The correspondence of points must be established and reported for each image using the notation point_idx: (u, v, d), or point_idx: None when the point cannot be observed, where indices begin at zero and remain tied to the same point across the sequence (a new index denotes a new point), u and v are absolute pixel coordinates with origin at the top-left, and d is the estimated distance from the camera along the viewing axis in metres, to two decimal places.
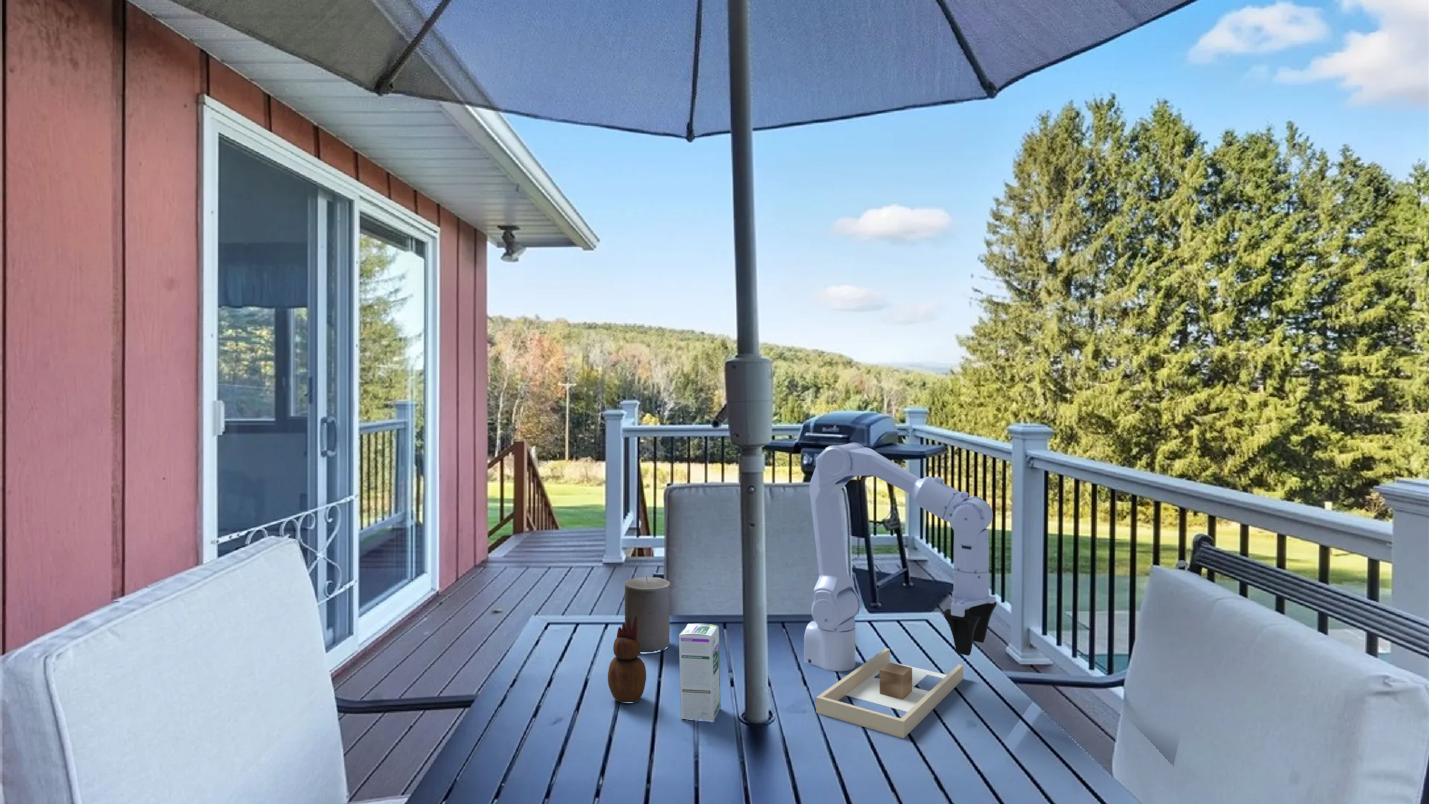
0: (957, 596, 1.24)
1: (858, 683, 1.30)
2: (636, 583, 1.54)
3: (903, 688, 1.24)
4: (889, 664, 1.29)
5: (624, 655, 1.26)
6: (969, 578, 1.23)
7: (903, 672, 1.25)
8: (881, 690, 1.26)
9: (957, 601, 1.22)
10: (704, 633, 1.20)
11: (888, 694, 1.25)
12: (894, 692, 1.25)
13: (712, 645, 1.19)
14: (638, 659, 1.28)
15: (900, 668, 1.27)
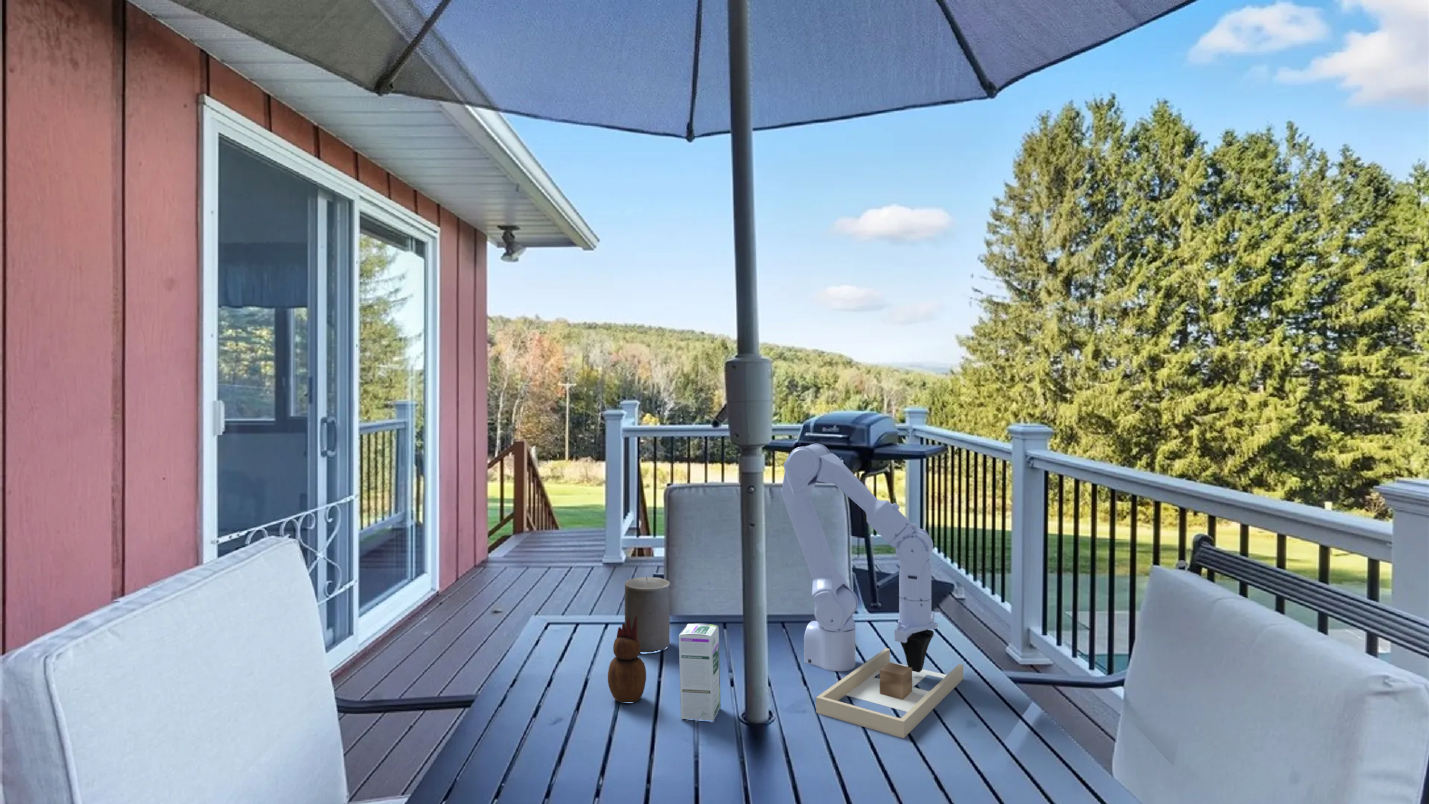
0: (902, 622, 1.33)
1: (858, 683, 1.30)
2: (636, 583, 1.54)
3: (903, 688, 1.24)
4: (889, 664, 1.29)
5: (624, 655, 1.26)
6: (912, 606, 1.31)
7: (903, 672, 1.25)
8: (881, 690, 1.26)
9: (901, 627, 1.30)
10: (704, 633, 1.20)
11: (888, 694, 1.25)
12: (894, 692, 1.25)
13: (712, 645, 1.19)
14: (638, 659, 1.28)
15: (900, 668, 1.27)
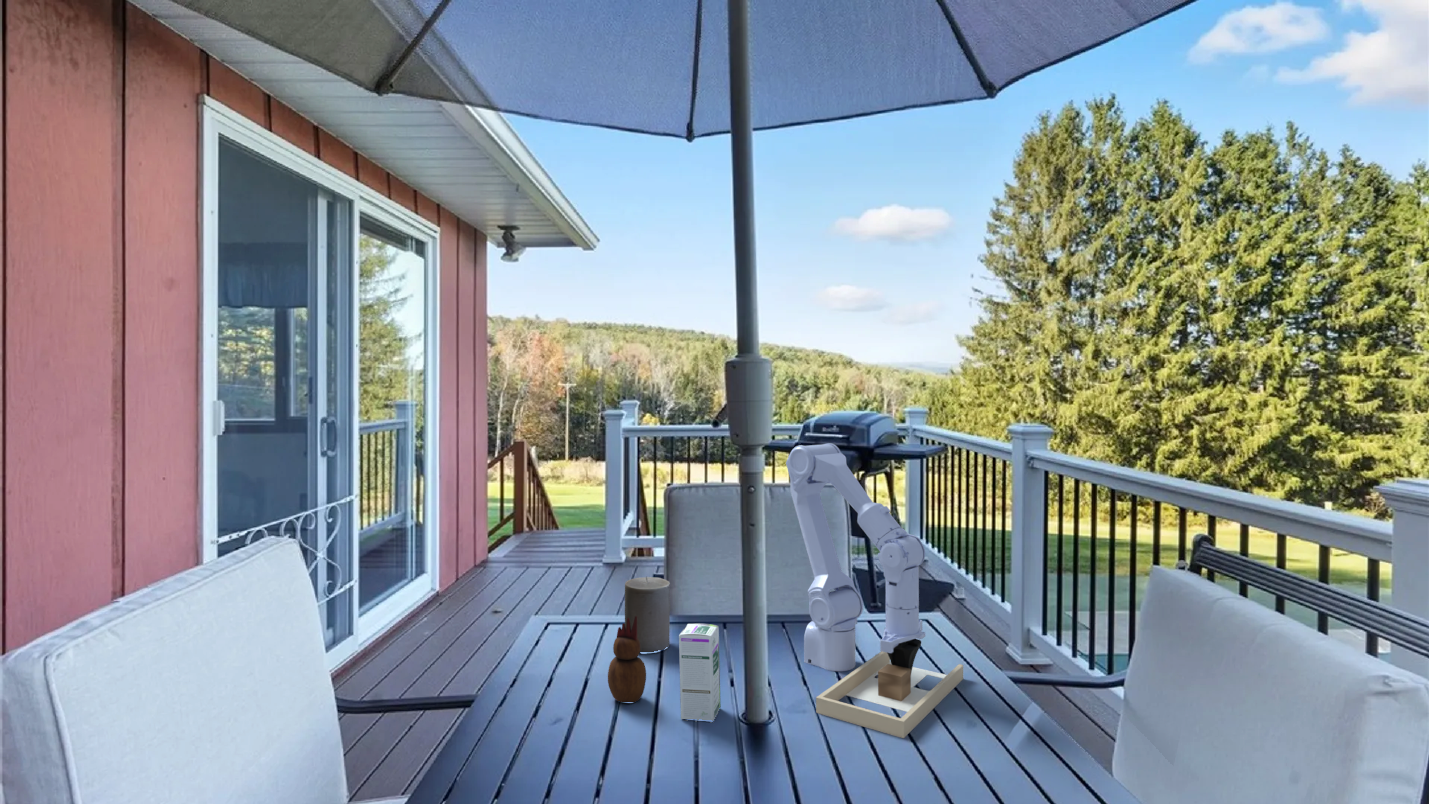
0: (888, 631, 1.28)
1: (858, 683, 1.30)
2: (636, 583, 1.54)
3: (902, 689, 1.24)
4: (887, 665, 1.28)
5: (624, 655, 1.26)
6: (899, 614, 1.26)
7: (902, 673, 1.24)
8: (880, 691, 1.25)
9: (887, 637, 1.25)
10: (704, 633, 1.20)
11: (887, 696, 1.25)
12: (893, 693, 1.24)
13: (712, 645, 1.19)
14: (638, 659, 1.28)
15: (899, 669, 1.26)
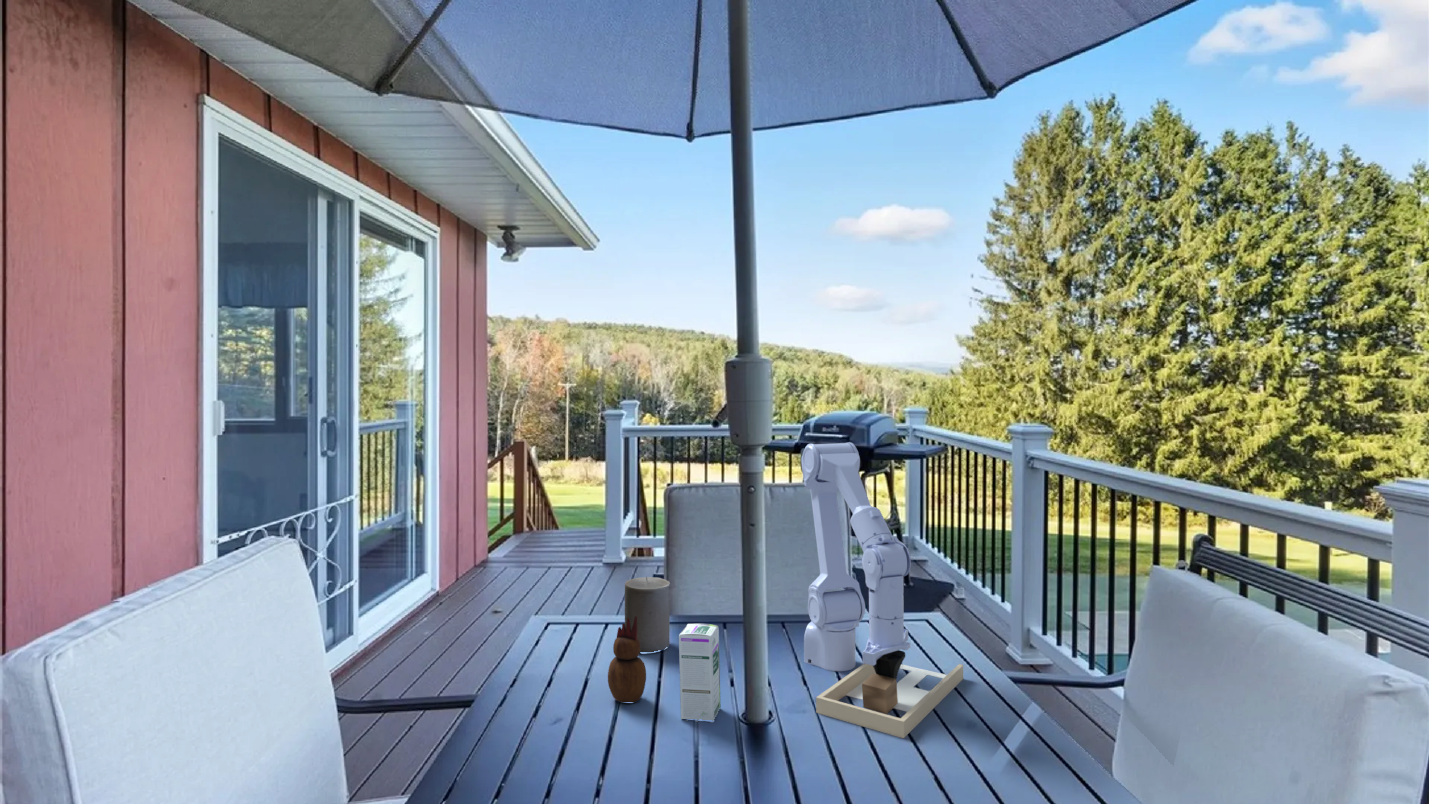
0: (871, 642, 1.22)
1: (858, 683, 1.30)
2: (636, 583, 1.54)
3: (887, 702, 1.19)
4: (873, 675, 1.23)
5: (624, 655, 1.26)
6: (882, 624, 1.21)
7: (886, 685, 1.19)
8: (864, 704, 1.21)
9: (870, 648, 1.20)
10: (704, 633, 1.20)
11: (872, 708, 1.20)
12: (878, 706, 1.19)
13: (712, 645, 1.19)
14: (638, 659, 1.28)
15: (884, 680, 1.21)
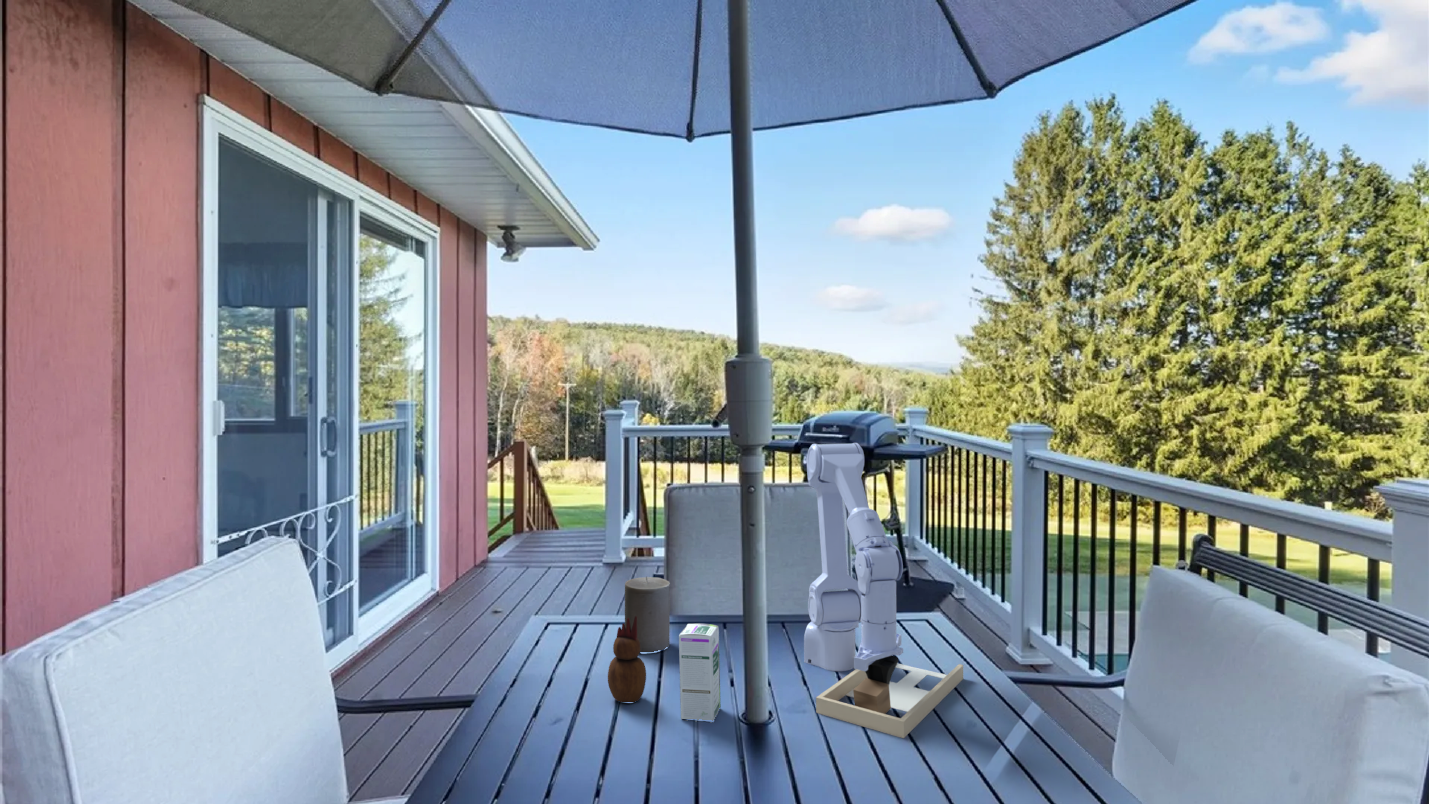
0: (864, 647, 1.20)
1: (858, 683, 1.30)
2: (636, 583, 1.54)
3: (879, 708, 1.16)
4: (865, 680, 1.21)
5: (623, 655, 1.26)
6: (875, 629, 1.18)
7: (878, 691, 1.17)
8: None
9: (862, 654, 1.18)
10: (704, 633, 1.20)
11: None
12: None
13: (712, 645, 1.19)
14: (638, 659, 1.28)
15: (876, 685, 1.19)
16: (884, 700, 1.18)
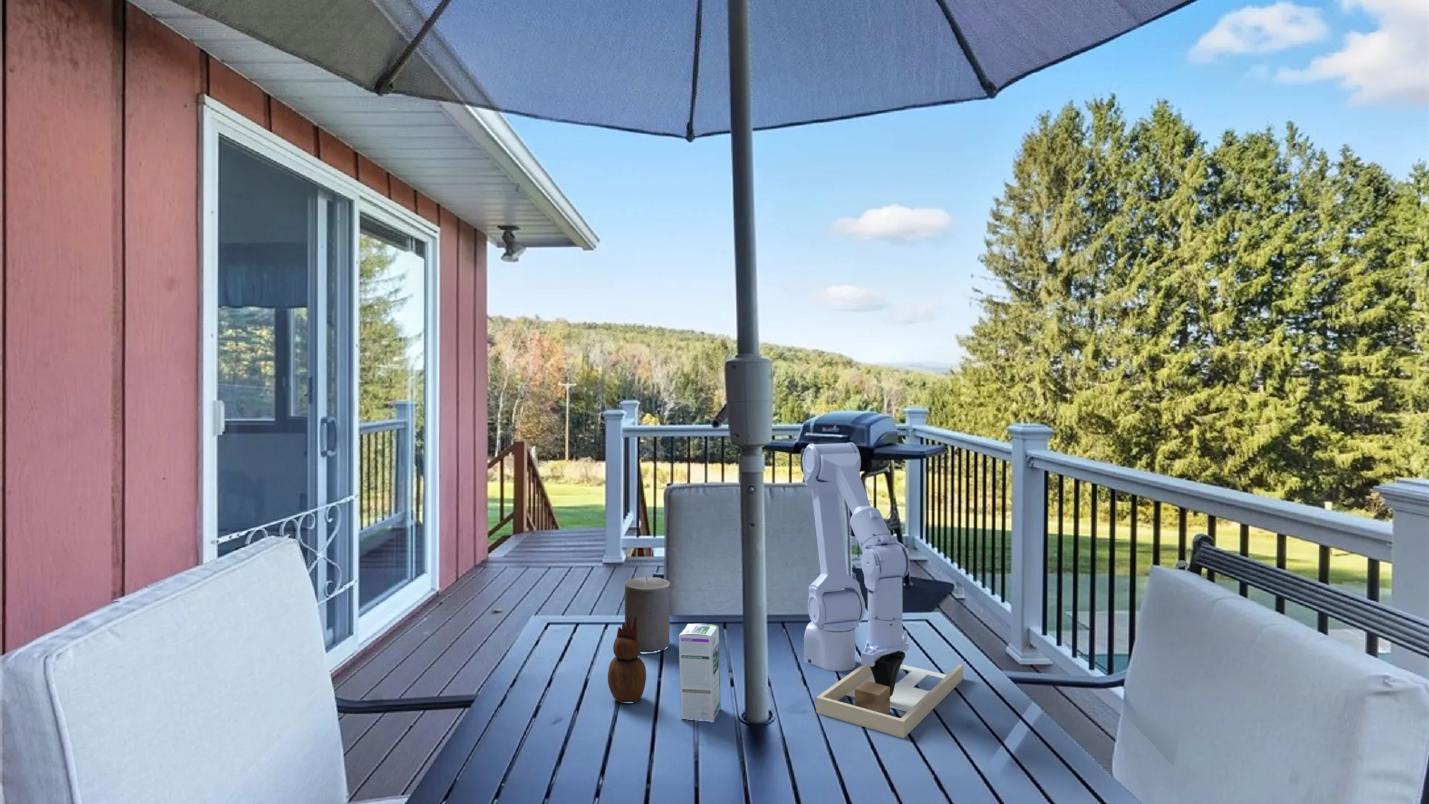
0: (870, 643, 1.22)
1: (858, 683, 1.30)
2: (636, 583, 1.54)
3: (879, 708, 1.16)
4: (866, 682, 1.21)
5: (624, 655, 1.26)
6: (881, 625, 1.20)
7: (879, 691, 1.17)
8: None
9: (869, 649, 1.20)
10: (704, 633, 1.20)
11: None
12: None
13: (712, 645, 1.19)
14: (638, 659, 1.28)
15: (878, 687, 1.19)
16: (885, 702, 1.18)
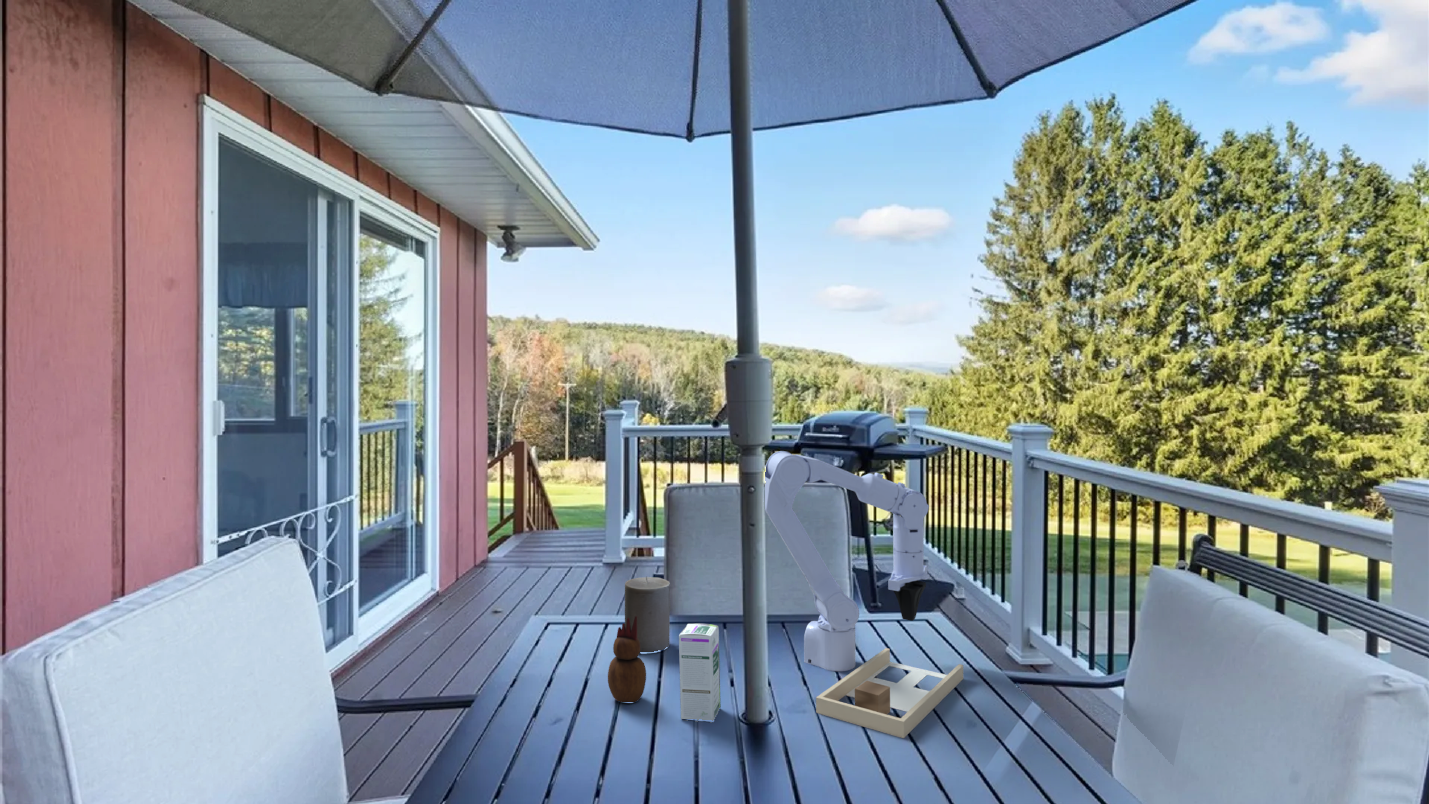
0: (895, 574, 1.41)
1: (858, 683, 1.30)
2: (636, 583, 1.54)
3: (879, 708, 1.16)
4: (866, 682, 1.21)
5: (624, 655, 1.26)
6: (905, 557, 1.39)
7: (879, 691, 1.17)
8: None
9: (894, 578, 1.39)
10: (704, 633, 1.20)
11: None
12: None
13: (712, 645, 1.19)
14: (638, 659, 1.28)
15: (878, 687, 1.19)
16: (885, 702, 1.18)
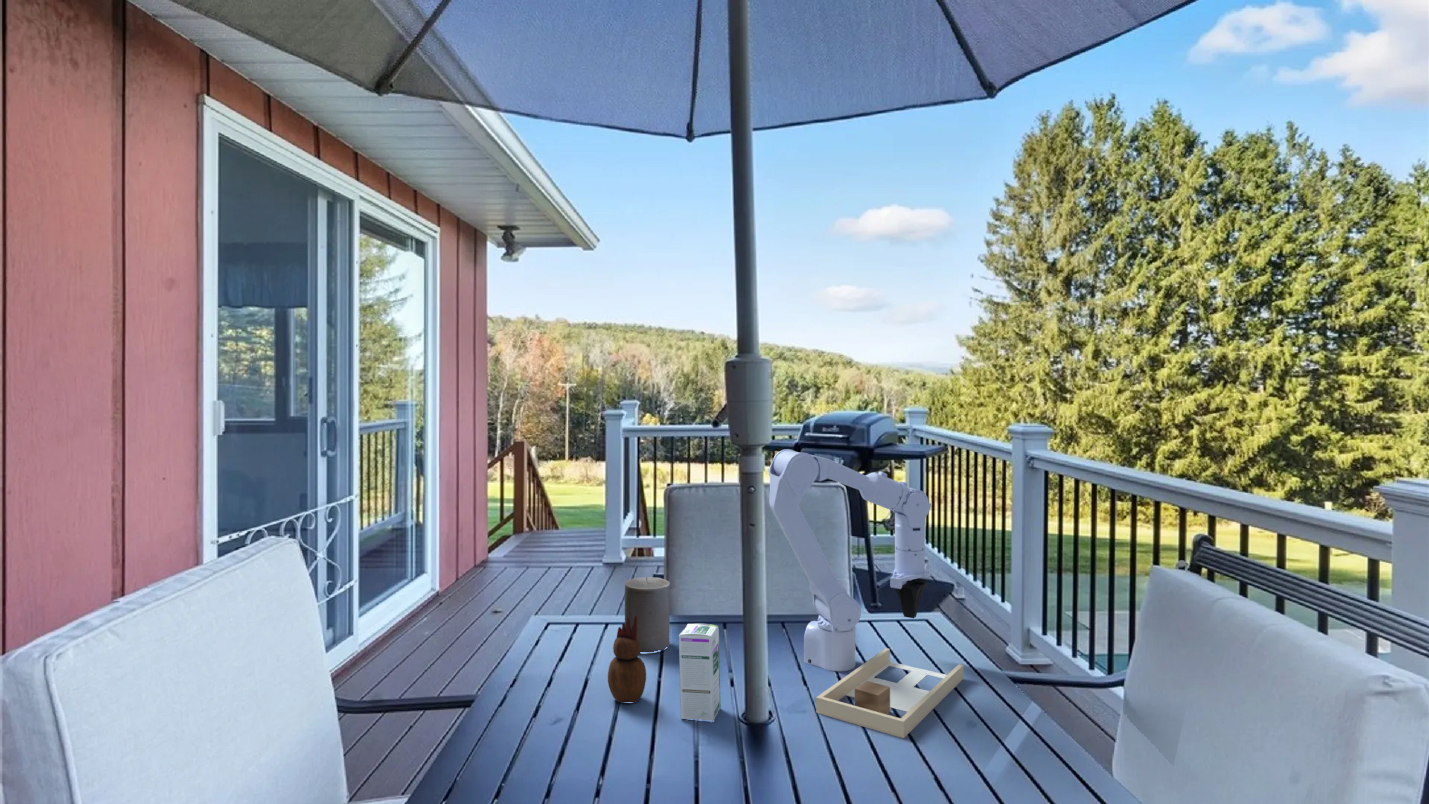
0: (897, 572, 1.42)
1: (858, 683, 1.30)
2: (636, 583, 1.54)
3: (879, 708, 1.16)
4: (866, 682, 1.21)
5: (624, 655, 1.26)
6: (907, 556, 1.41)
7: (879, 691, 1.17)
8: None
9: (896, 575, 1.40)
10: (704, 633, 1.20)
11: None
12: None
13: (712, 645, 1.19)
14: (638, 659, 1.28)
15: (878, 687, 1.19)
16: (885, 702, 1.18)
